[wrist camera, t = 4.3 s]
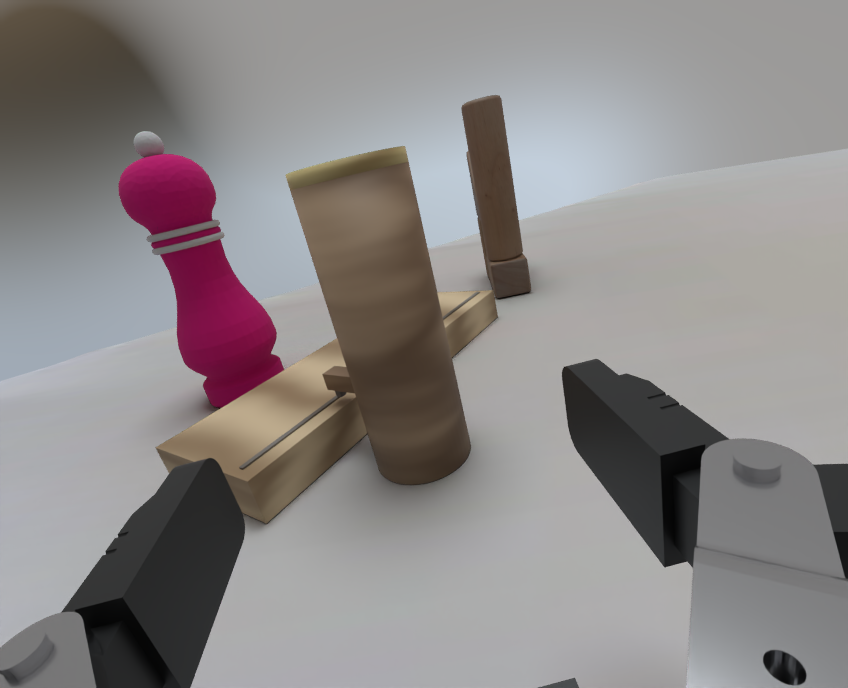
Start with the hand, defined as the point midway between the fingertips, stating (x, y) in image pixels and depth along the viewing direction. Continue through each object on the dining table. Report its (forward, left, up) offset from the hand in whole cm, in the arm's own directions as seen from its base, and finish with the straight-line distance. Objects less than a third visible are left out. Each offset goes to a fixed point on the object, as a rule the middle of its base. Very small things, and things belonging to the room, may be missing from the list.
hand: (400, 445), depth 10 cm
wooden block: (+38, +15, -8) cm, 41 cm away
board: (+15, +16, -8) cm, 23 cm away
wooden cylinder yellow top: (+9, +9, -8) cm, 15 cm away
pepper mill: (+12, +27, -8) cm, 31 cm away
